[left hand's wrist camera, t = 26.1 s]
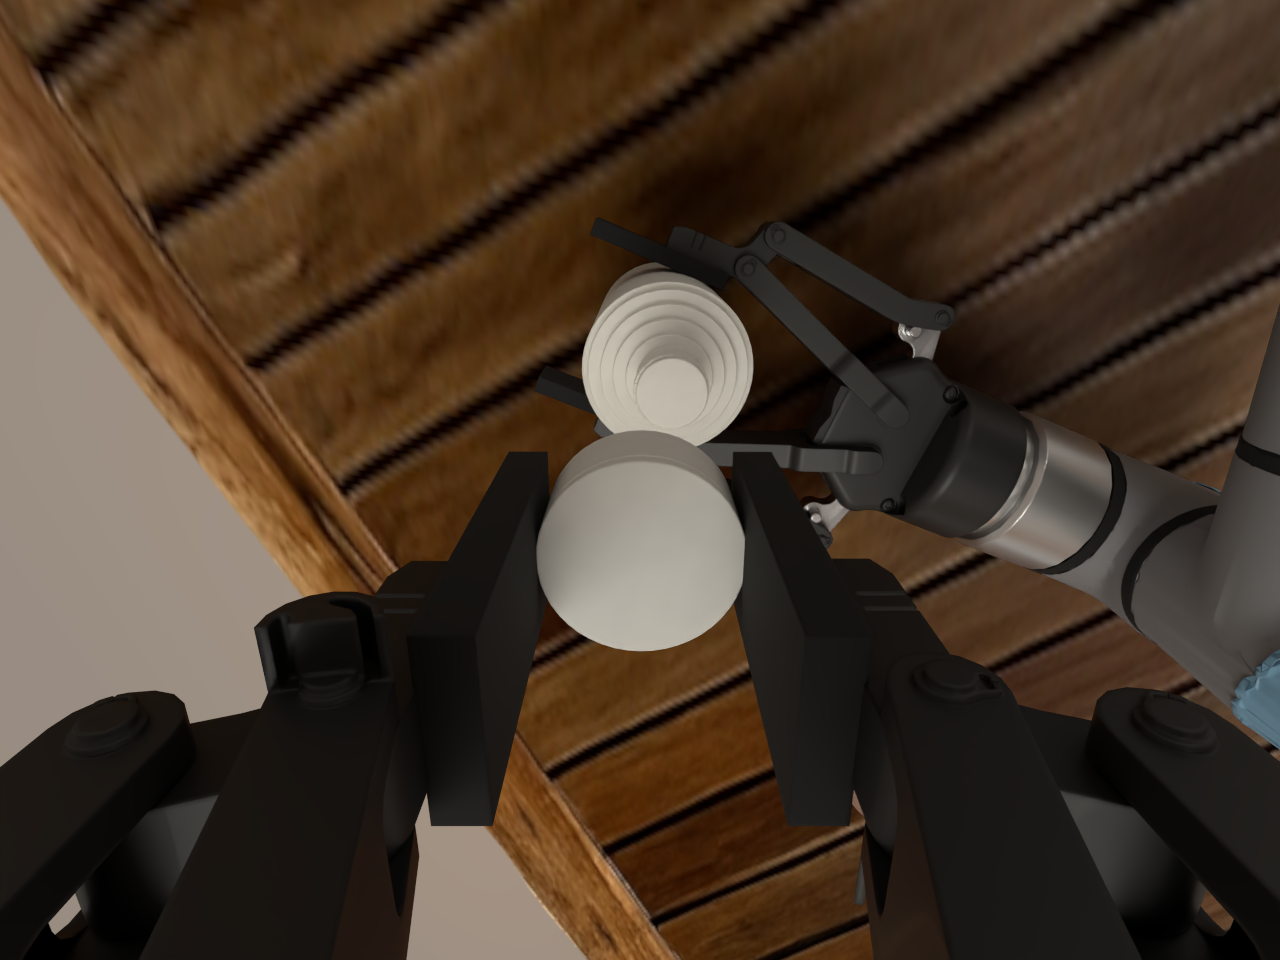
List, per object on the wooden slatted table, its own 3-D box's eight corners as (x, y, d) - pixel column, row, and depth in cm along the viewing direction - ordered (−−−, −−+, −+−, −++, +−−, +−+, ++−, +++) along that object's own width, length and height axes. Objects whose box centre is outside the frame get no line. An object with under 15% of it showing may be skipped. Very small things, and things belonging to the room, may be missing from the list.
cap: (551, 598, 15) (538, 650, 13) (545, 427, 14) (532, 459, 12) (728, 601, 15) (740, 653, 13) (739, 430, 14) (754, 463, 12)
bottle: (605, 254, 39) (582, 280, 23) (728, 270, 40) (788, 305, 24) (593, 377, 42) (565, 475, 26) (709, 390, 42) (752, 496, 26)
